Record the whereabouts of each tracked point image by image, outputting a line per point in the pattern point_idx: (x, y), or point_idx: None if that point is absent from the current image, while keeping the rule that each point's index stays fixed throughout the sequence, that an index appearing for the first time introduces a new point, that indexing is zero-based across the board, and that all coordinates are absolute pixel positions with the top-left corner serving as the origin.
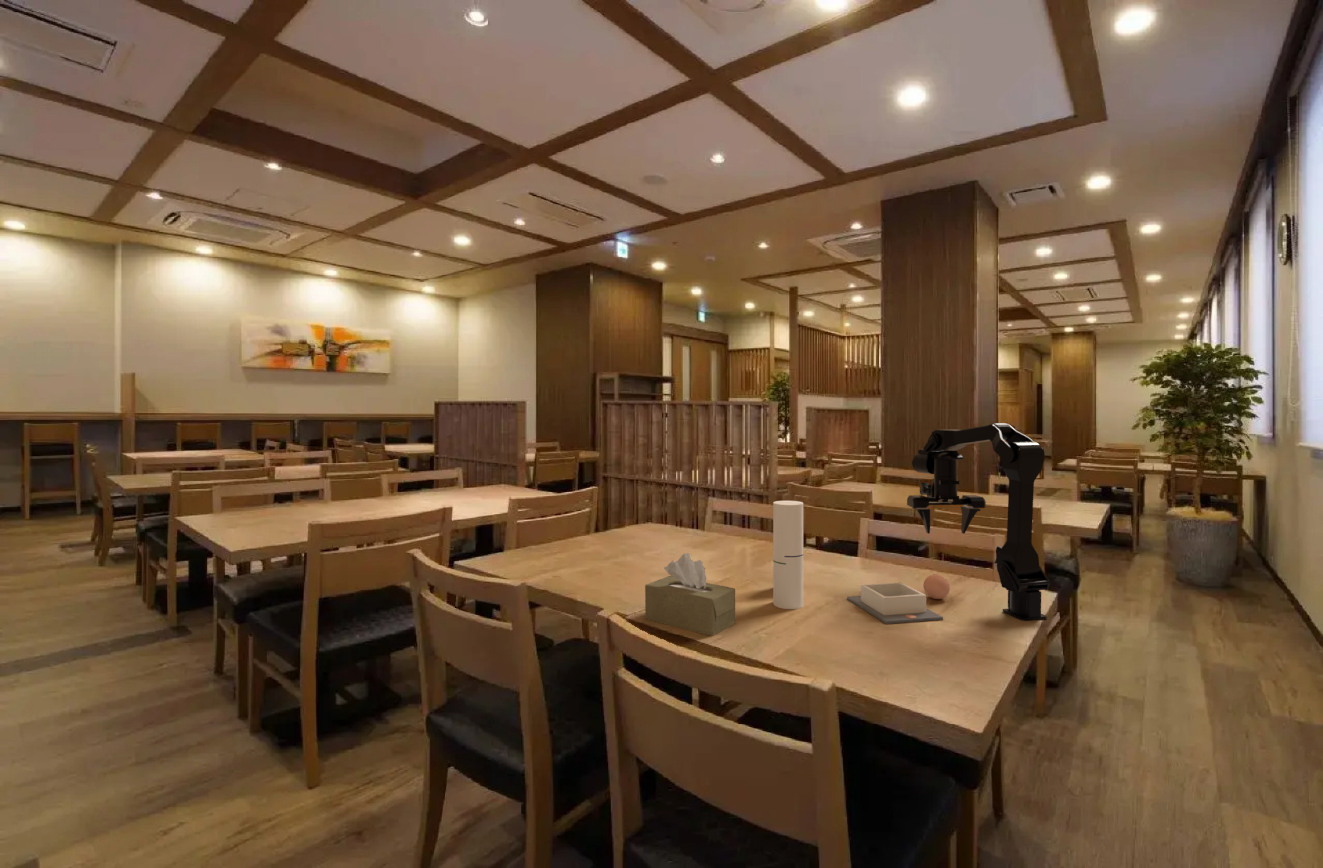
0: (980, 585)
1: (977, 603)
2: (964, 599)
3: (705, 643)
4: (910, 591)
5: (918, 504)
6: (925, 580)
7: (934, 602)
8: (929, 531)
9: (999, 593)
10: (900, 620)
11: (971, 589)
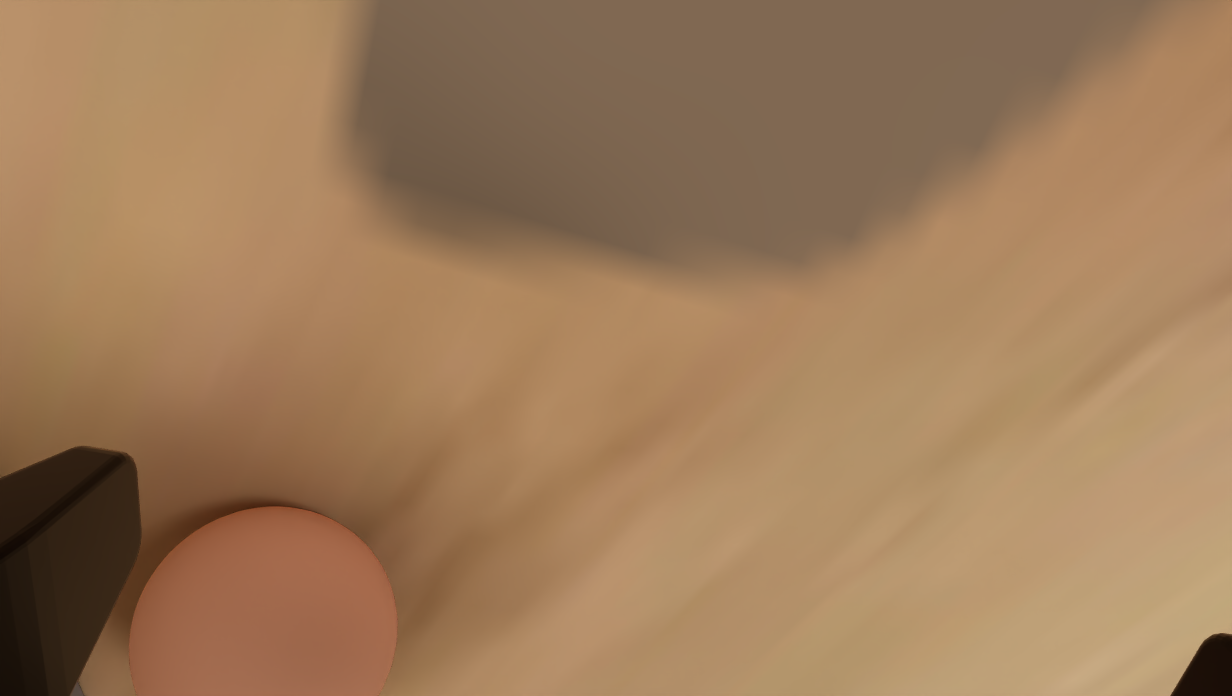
0: (1072, 235)
1: (604, 687)
2: (556, 598)
3: None
4: None
5: None
6: (129, 654)
7: None
8: (94, 624)
9: (1025, 506)
10: None
11: (841, 356)
